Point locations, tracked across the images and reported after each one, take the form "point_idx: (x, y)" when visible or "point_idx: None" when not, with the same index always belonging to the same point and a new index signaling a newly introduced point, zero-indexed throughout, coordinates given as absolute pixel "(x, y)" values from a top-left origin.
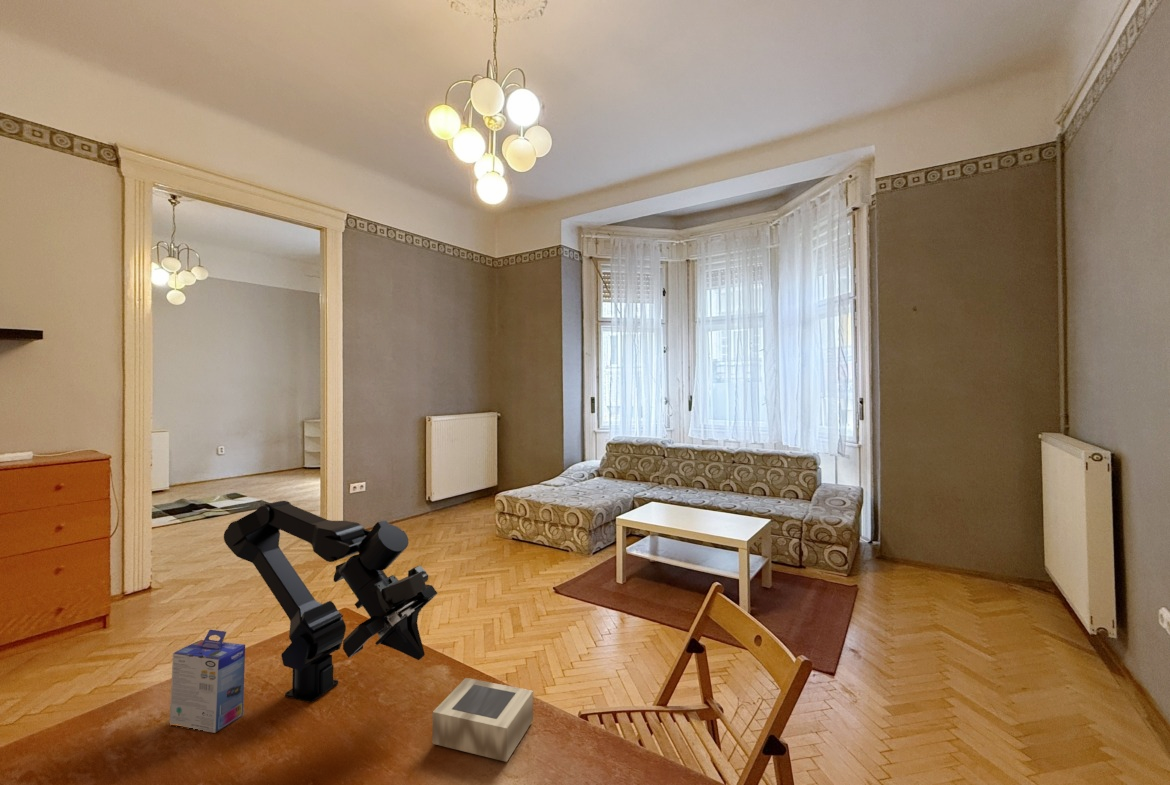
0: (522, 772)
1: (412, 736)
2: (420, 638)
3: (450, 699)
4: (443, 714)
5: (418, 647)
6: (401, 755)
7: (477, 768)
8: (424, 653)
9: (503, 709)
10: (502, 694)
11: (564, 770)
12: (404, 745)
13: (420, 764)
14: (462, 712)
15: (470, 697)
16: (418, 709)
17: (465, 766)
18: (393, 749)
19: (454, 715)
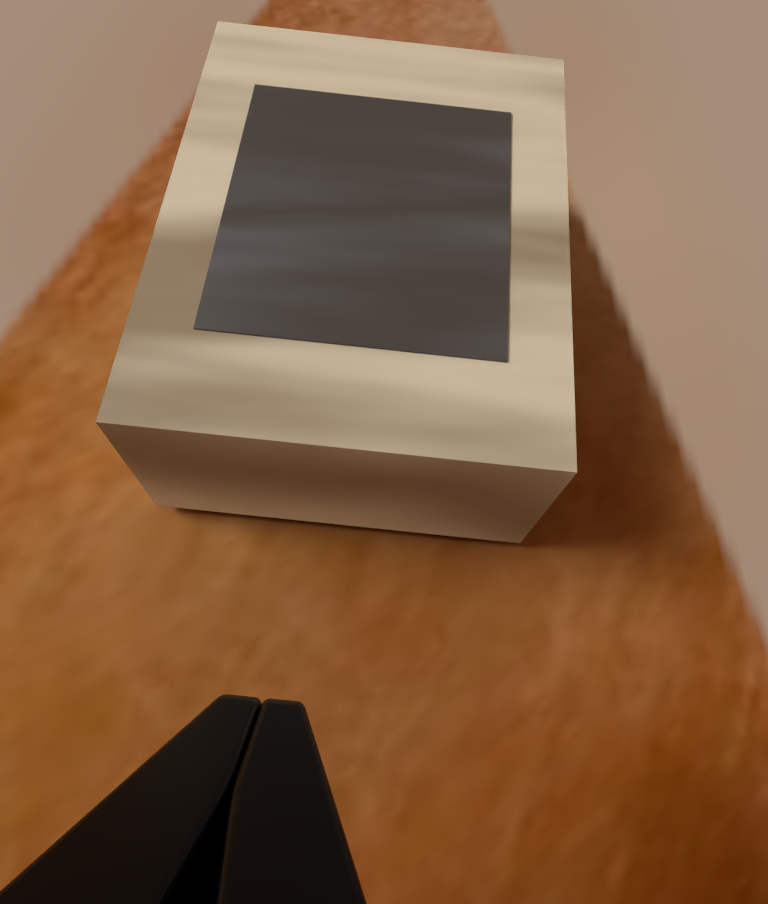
0: None
1: (474, 713)
2: (6, 893)
3: (403, 416)
4: (572, 392)
5: (252, 806)
6: (633, 685)
7: (575, 293)
8: (221, 698)
9: (427, 102)
10: (284, 139)
11: (483, 41)
12: (559, 718)
13: (649, 543)
14: (518, 287)
15: (356, 294)
16: None
17: (583, 341)
18: (610, 769)
19: (559, 321)
